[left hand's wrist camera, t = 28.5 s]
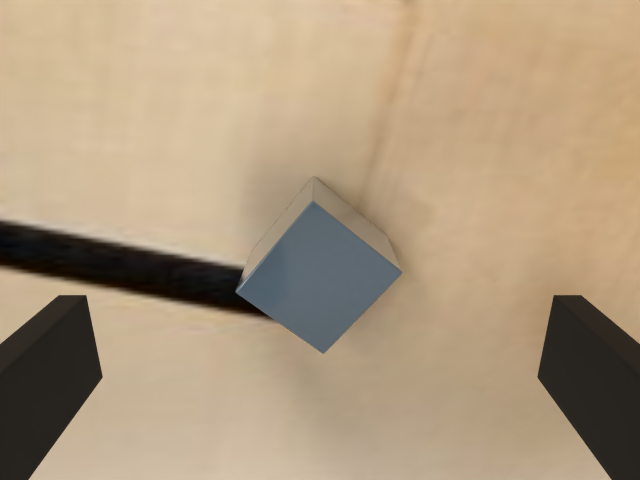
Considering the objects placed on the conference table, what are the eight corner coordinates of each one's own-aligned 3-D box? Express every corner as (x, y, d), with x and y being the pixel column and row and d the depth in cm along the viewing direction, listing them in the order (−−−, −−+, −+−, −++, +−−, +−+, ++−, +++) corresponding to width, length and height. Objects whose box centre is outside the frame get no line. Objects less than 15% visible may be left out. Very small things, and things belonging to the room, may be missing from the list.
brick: (387, 235, 21) (403, 272, 17) (323, 304, 22) (323, 355, 18) (313, 175, 20) (312, 200, 16) (250, 251, 21) (234, 292, 17)
